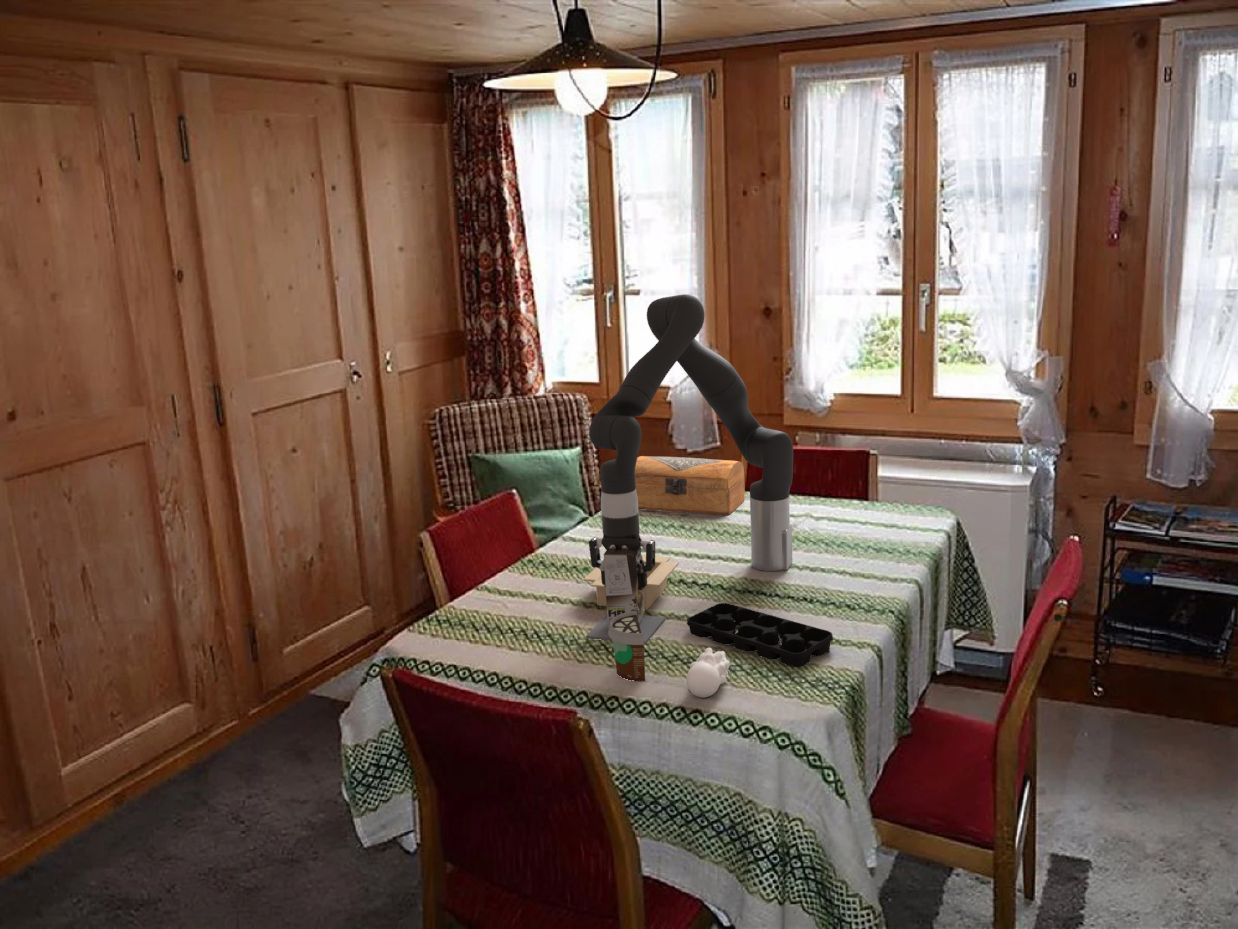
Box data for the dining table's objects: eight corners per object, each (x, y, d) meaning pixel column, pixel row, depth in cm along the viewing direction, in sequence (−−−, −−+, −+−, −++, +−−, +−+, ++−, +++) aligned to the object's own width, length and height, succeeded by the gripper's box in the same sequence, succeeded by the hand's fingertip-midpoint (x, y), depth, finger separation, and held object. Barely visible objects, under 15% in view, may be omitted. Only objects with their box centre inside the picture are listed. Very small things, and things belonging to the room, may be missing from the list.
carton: (683, 582, 250) (682, 558, 249) (655, 616, 231) (654, 589, 230) (612, 577, 256) (611, 553, 255) (580, 609, 237) (578, 583, 236)
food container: (608, 660, 211) (605, 612, 208) (639, 657, 211) (636, 609, 209) (613, 687, 199) (610, 637, 197) (646, 684, 199) (643, 634, 197)
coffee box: (637, 629, 220) (633, 554, 216) (606, 628, 221) (602, 554, 217) (645, 612, 229) (641, 540, 225) (615, 611, 230) (611, 540, 226)
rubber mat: (665, 620, 229) (665, 617, 229) (645, 644, 217) (645, 641, 217) (608, 615, 233) (608, 612, 233) (586, 638, 222) (585, 635, 221)
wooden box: (628, 510, 310) (626, 463, 307) (650, 495, 325) (647, 450, 321) (728, 518, 298) (726, 469, 295) (745, 501, 313) (744, 455, 309)
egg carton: (811, 674, 201) (811, 655, 200) (671, 646, 217) (670, 629, 216) (845, 639, 215) (845, 622, 214) (712, 615, 231) (711, 599, 230)
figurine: (671, 686, 192) (692, 654, 203) (697, 713, 192) (717, 680, 203) (697, 665, 189) (716, 634, 200) (723, 692, 189) (742, 660, 199)
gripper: (659, 507, 220) (663, 583, 224) (593, 504, 225) (598, 579, 229) (647, 518, 213) (651, 597, 217) (580, 514, 218) (585, 591, 222)
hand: (624, 587), depth 223 cm, fingers closed on coffee box, 7 cm apart
